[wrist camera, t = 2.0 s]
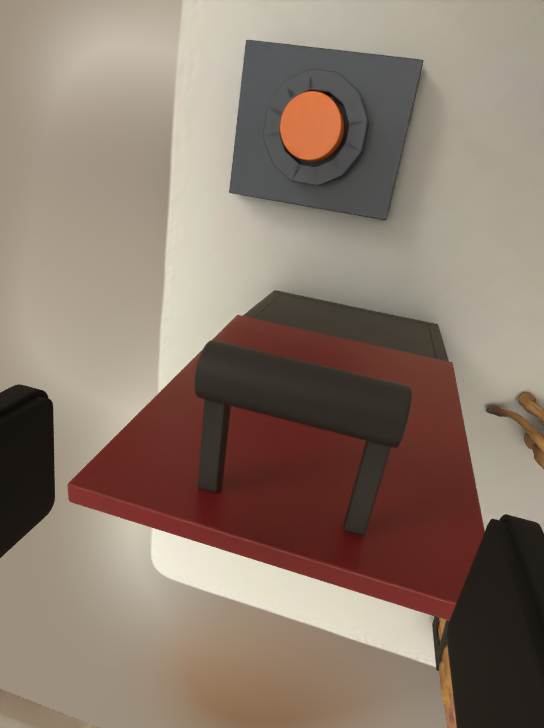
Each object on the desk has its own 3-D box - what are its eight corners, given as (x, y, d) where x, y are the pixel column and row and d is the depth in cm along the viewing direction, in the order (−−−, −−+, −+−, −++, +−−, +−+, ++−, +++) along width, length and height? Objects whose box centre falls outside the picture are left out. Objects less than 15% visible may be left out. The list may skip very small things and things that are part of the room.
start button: (350, 100, 31) (347, 95, 29) (337, 165, 32) (334, 164, 31) (290, 92, 32) (285, 87, 30) (281, 157, 33) (275, 155, 32)
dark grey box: (387, 494, 44) (385, 571, 35) (248, 455, 46) (212, 518, 37) (438, 324, 38) (450, 365, 29) (274, 290, 40) (238, 318, 31)
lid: (492, 636, 13) (584, 466, 11) (67, 502, 16) (53, 334, 13) (448, 373, 29) (482, 275, 26) (236, 325, 31) (245, 231, 28)
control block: (422, 67, 32) (424, 52, 29) (386, 218, 36) (385, 221, 33) (254, 48, 35) (237, 31, 31) (237, 192, 38) (220, 192, 35)
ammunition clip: (454, 540, 44) (472, 656, 33) (475, 545, 44) (501, 663, 33) (432, 625, 48) (441, 754, 37) (451, 630, 47) (467, 762, 36)
